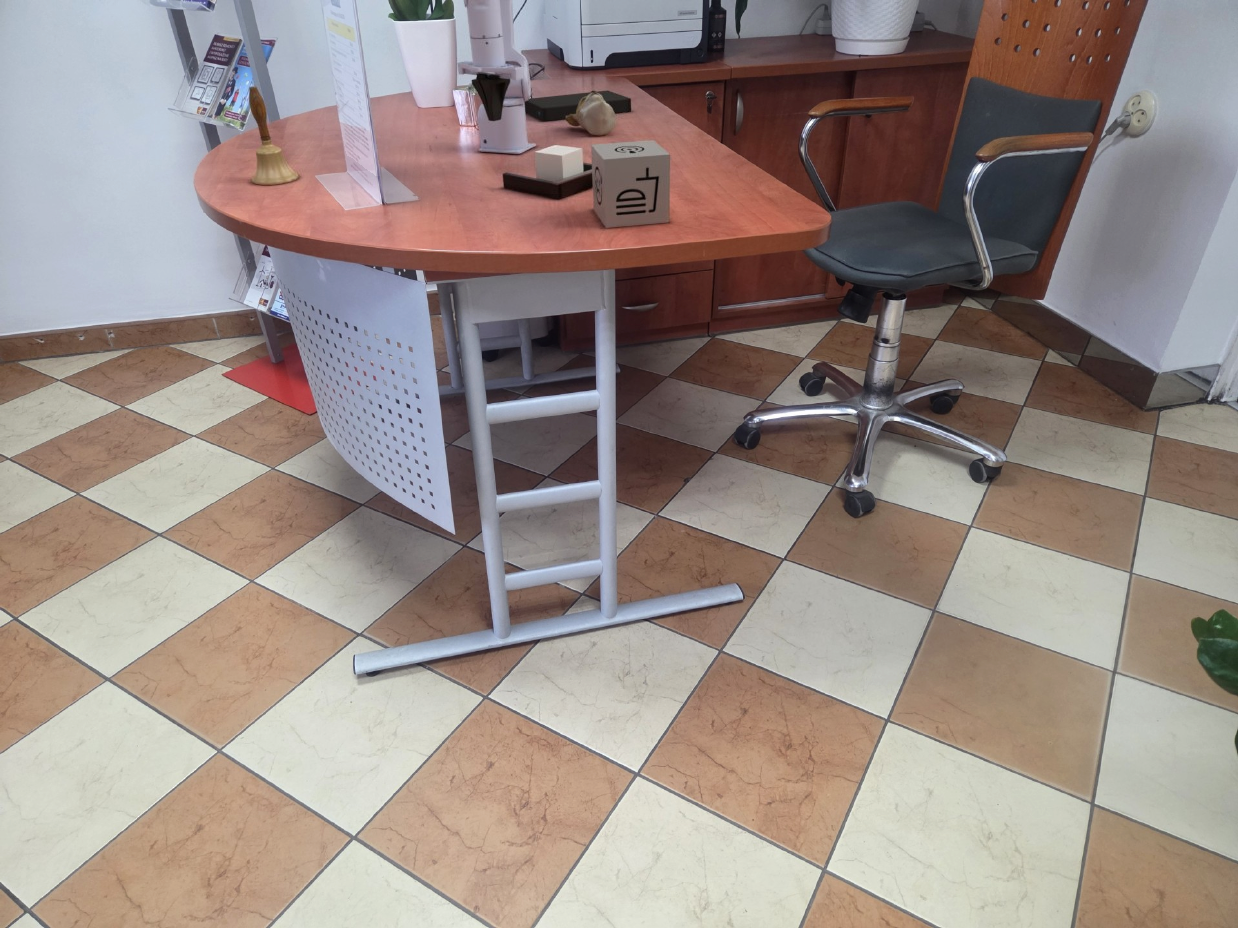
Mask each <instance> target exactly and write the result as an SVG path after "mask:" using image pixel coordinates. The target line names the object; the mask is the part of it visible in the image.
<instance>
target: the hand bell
mask: <svg viewBox="0 0 1238 928" xmlns="http://www.w3.org/2000/svg"><path fill="white" fill-rule="evenodd" d="M265 103H266V102H265V100H264V98H263V96H262V95H261V93H260V91H259V89H258V87H257V86H254V85H253V86H249V87H248V104H249V107H250V108H249V109H250V112H251V115H252V117H253V119H254V121H255V122H256V125H257V128H258V131H259V136H260V141H261V146H260V147H259V148H257V149H256V150H255V154H256V155H255V156H256V170H255V173H254V175H253V176H252V177H251V182H252V183H253V184H255V185H258V186H259V185H260V186H273V185H274V186H275V185H282V184H287V183H292V182H294V181H297V180H298V179H299V174H298V173H297V172H296V171H295V170H293V169H292V168H291V167H290V166H289V164H288V163H287V160H286V159H285V158H286V157H285V156H284V153H283V150H282V148H281V147H279V146H276V145H274V144H273V142H272V137H271V135H270V131H269V128H268V122H267V121H268V120H267V119H268V113H267V107H266V104H265Z"/></svg>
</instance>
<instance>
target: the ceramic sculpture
mask: <svg viewBox="0 0 1238 928" xmlns="http://www.w3.org/2000/svg"><path fill="white" fill-rule="evenodd" d="M589 92H590V94H589V95H588V96H586V97H583V98H582V99H581V100H580V101H579V104H578V107H577V110H576V114H570V115H568V116H565V119H564V120H565V122H566V123H567V124H568V125H570V126H572V127H581V128H583V129H584V130H586V131H587V132H588V133H589V134H590V135H592V136H593V135H594V136H598V137H599V136H604V135H607V134H610V133H611V132H612V131H613V129H614V127H615V125H616V120H617V113H614V111H613V109H612V108H611V107H610V105H609V104H607V103H606V102H605V101H604V99H603V97H602V96H601V95H600V94H599V93H597V90H591V91H589Z"/></svg>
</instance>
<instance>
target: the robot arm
mask: <svg viewBox="0 0 1238 928" xmlns="http://www.w3.org/2000/svg"><path fill="white" fill-rule="evenodd" d="M463 5H464V8H466V14H467V24H468V33H469V40H470V49H471V60H472V61H469V60H468V61H467V60H464V61H459V62H457V70H458V75H472V76H476V77H475V78H474V79H471V80H470V81H471V85H472V87H473V88H474V89H475V91H476V93H477V94H478V96H479V98H480V101H481V104H480V105H479V107H478V109H477V127H478V138H479V145H480V148H478V152H485V153H496V154H497V153H500V154H513V155H520V154H522V153H525V152H526V151H528V150H530V149H532V148H534V147H536V146H537V144H536V143H535V142H529V141H528V140H529V139H528V129H527V116H526V114H527V113H525V101H528V100H529V99H530V98H531V94H532V89H531V88H532V85H531V74H530V73H531V72H530V66H529V65H530V64H529V61H528V60H527V57H526V56H525V55H524V54H522V52H519V50H517V49H516V48H515V34H514V33H515V32H514V9H513V8H514V7H513V0H463Z"/></svg>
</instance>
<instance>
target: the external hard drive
mask: <svg viewBox="0 0 1238 928" xmlns="http://www.w3.org/2000/svg"><path fill="white" fill-rule="evenodd" d="M590 92H591V91H589V92H580V93H570V94H569V93H568V94H560V95H550V96H541V97H532V98H531V97H530V98H529V100H528V101H525V114H527V115H528V116H531V117H532V118H534V119H537V120H539V121H541V122H544V123H545V122H553V121H561V120H565V116H568V115H570V114H576V110H577V107H578V104H579V101H580V100H581V99H582V98H583V97H586V96H588V95H589V94H590ZM596 92H597V93H599V94H600V95H601V96H602V97H603V99H604V101H605V102H606V103H607V104H609V105H610V107H611V108H612V109H613V111H614V113H615V114H621V113H629V112H630V113H631V112H632V98H630V97H628V96H624V95H622V94H620V93H616V92H613V91H610V90H599V91H597V90H596Z"/></svg>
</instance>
